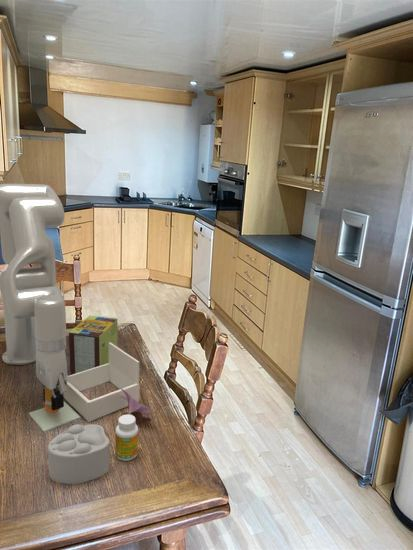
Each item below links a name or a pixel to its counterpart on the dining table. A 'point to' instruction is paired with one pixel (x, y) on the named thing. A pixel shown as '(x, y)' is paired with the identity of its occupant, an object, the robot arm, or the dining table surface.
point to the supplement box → (49, 400)
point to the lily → (135, 405)
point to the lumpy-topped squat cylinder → (79, 454)
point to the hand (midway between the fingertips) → (53, 403)
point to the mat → (54, 417)
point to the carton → (117, 371)
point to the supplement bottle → (126, 438)
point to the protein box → (91, 343)
